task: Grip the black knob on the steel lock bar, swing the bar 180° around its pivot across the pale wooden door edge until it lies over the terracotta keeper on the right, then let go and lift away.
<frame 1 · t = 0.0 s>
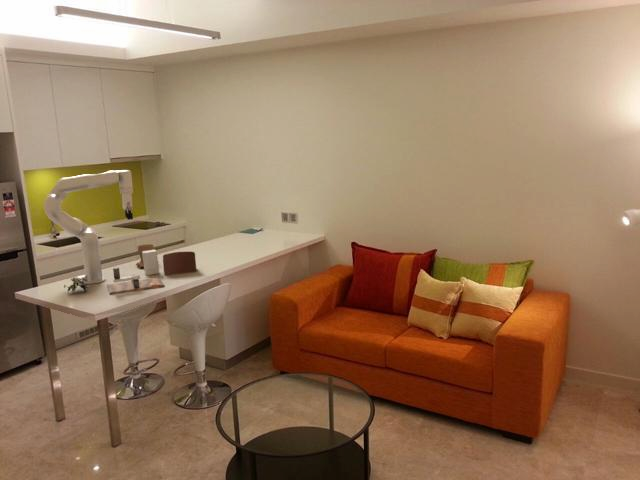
hand: (129, 218, 334), 37 cm above the breakfast bar, tool pointing down, fingers open, 9 cm apart
jamb plate: (135, 286, 318), on the breakfast bar
letter holder: (180, 272, 349), on the breakfast bar
lock bar: (126, 273, 308), point 10 cm above the breakfast bar, hinge at 0.0°
passion flower: (77, 293, 308), on the breakfast bar
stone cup: (146, 265, 367), on the breakfast bar
skincare box: (151, 273, 346), on the breakfast bar
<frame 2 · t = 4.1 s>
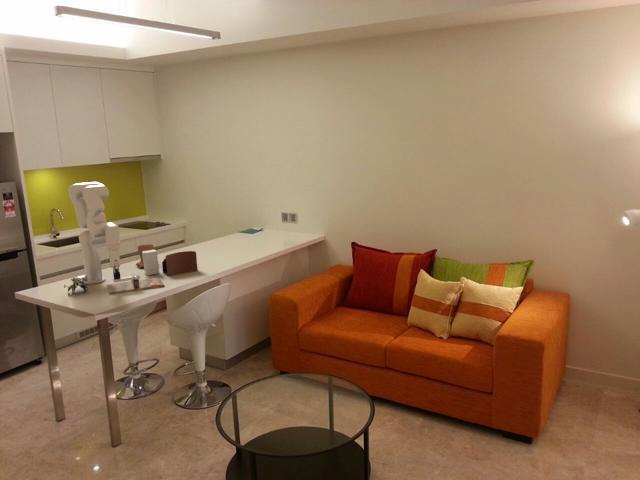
hand: (117, 277, 307), 8 cm above the breakfast bar, tool pointing down, fingers closed on lock bar, 3 cm apart
lock bar: (126, 273, 308), point 10 cm above the breakfast bar, hinge at 0.0°, touching gripper
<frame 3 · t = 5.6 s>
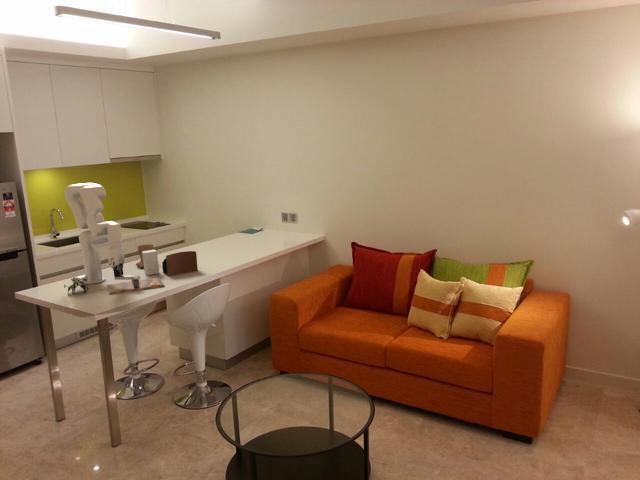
hand: (118, 275, 312), 8 cm above the breakfast bar, tool pointing down, fingers closed on lock bar, 3 cm apart
lock bar: (127, 272, 311), point 10 cm above the breakfast bar, hinge at 30.3°, touching gripper
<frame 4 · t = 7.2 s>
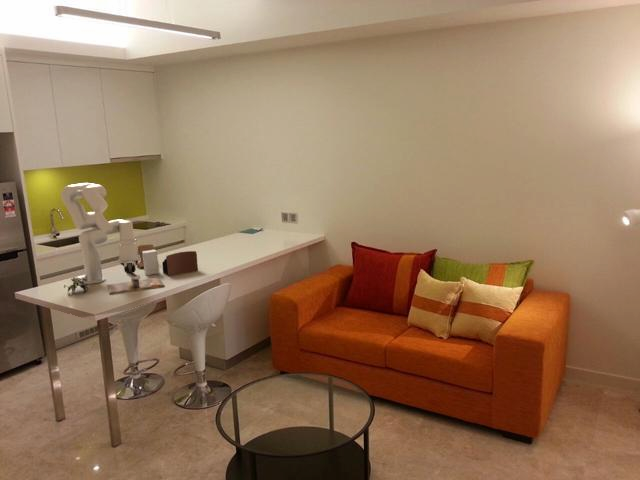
hand: (130, 272, 319), 8 cm above the breakfast bar, tool pointing down, fingers closed on lock bar, 3 cm apart
lock bar: (132, 270, 314), point 10 cm above the breakfast bar, hinge at 79.4°, touching gripper
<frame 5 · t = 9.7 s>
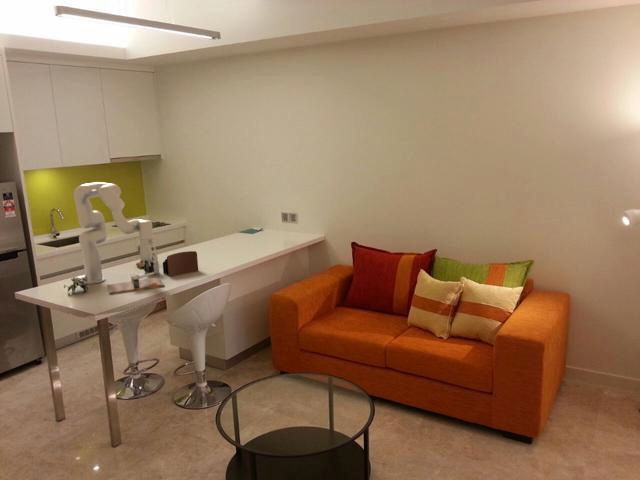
hand: (149, 271, 319), 8 cm above the breakfast bar, tool pointing down, fingers closed on lock bar, 3 cm apart
lock bar: (142, 270, 314), point 10 cm above the breakfast bar, hinge at 147.1°, touching gripper
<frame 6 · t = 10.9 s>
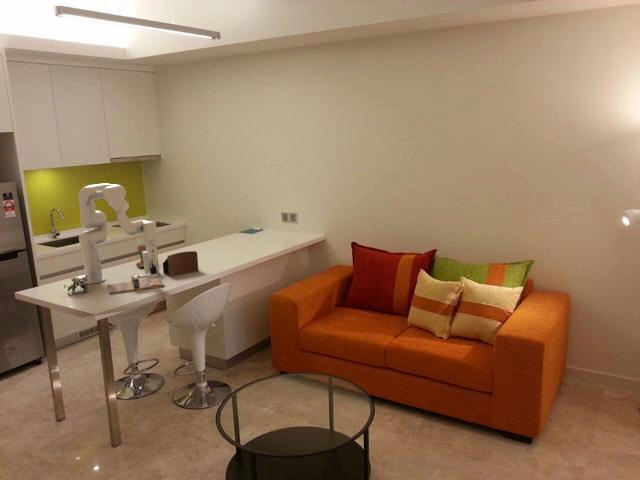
hand: (153, 273, 315), 8 cm above the breakfast bar, tool pointing down, fingers closed on lock bar, 3 cm apart
lock bar: (144, 271, 313), point 10 cm above the breakfast bar, hinge at 176.0°, touching gripper
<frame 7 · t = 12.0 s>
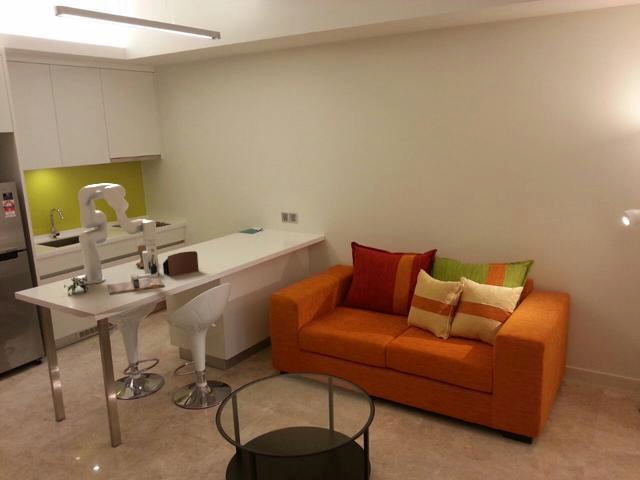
hand: (153, 270, 315), 10 cm above the breakfast bar, tool pointing down, fingers open, 9 cm apart
lock bar: (144, 271, 313), point 10 cm above the breakfast bar, hinge at 177.1°
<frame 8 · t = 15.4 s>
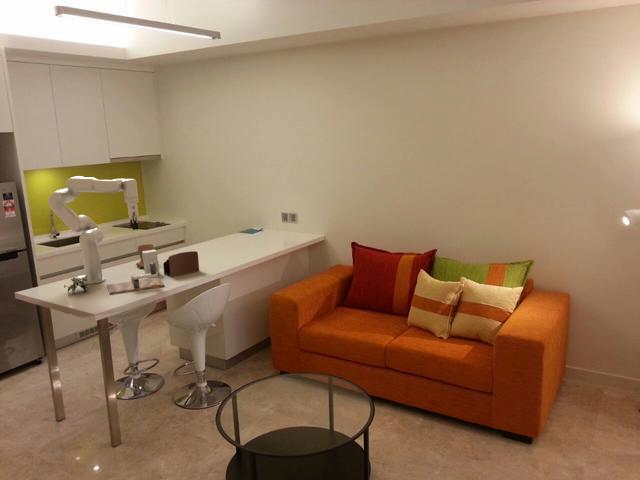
hand: (134, 228, 324), 32 cm above the breakfast bar, tool pointing down, fingers open, 9 cm apart
at the end: lock bar at +177° (first picture: +0°); the gripper is holding nothing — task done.
